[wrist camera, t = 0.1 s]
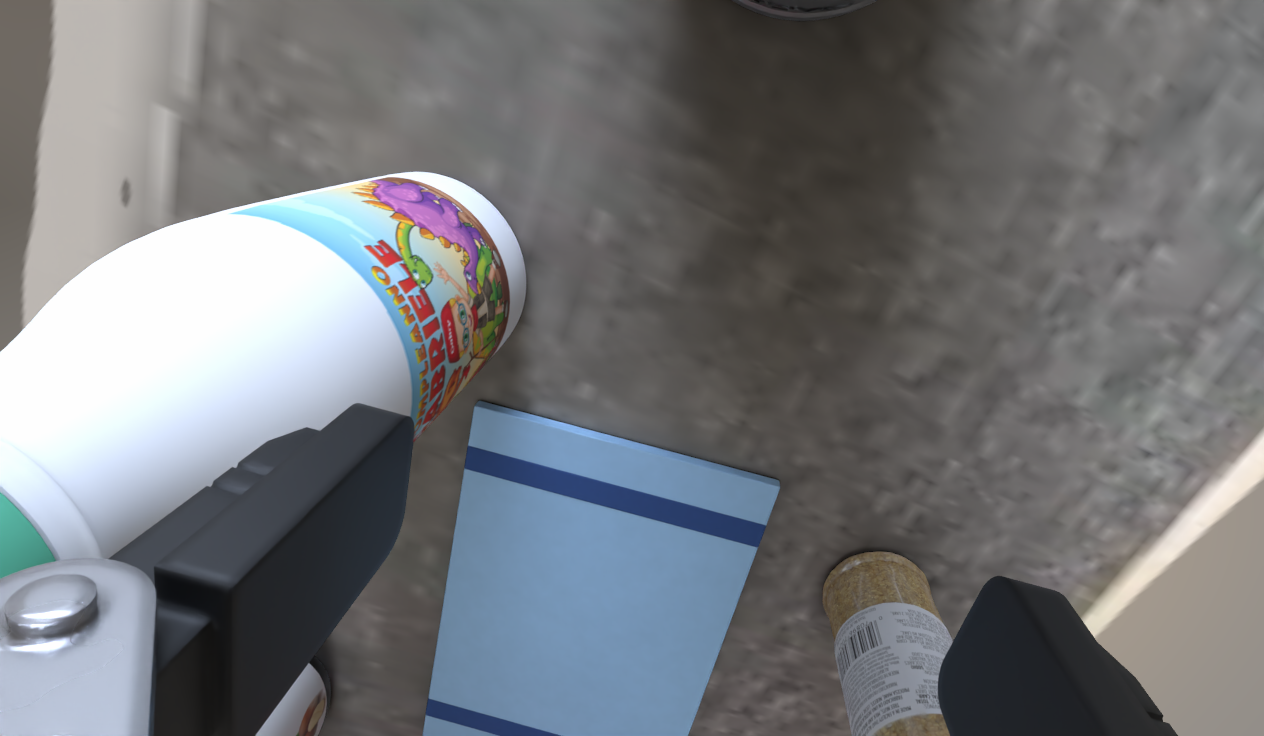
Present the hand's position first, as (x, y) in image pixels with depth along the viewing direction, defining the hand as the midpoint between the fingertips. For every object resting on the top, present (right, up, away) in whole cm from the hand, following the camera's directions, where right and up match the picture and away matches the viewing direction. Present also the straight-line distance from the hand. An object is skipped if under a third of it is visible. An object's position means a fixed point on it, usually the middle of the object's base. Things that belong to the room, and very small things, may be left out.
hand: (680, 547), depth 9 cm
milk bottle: (-8, +6, +17) cm, 20 cm away
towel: (-3, -9, +23) cm, 25 cm away
